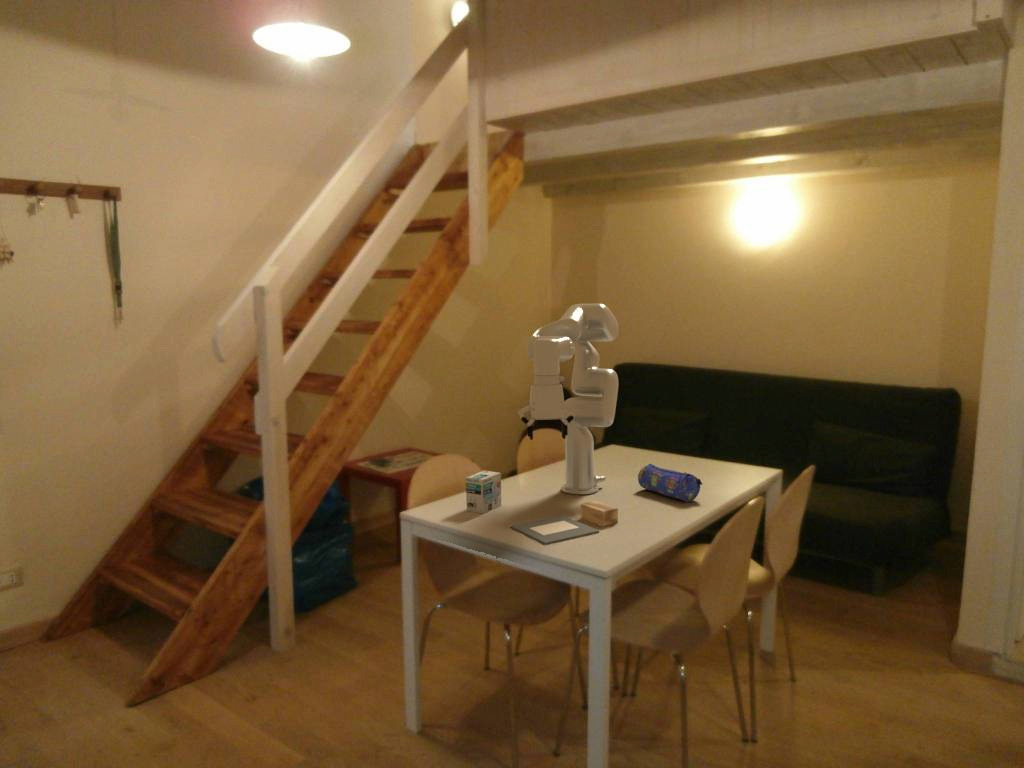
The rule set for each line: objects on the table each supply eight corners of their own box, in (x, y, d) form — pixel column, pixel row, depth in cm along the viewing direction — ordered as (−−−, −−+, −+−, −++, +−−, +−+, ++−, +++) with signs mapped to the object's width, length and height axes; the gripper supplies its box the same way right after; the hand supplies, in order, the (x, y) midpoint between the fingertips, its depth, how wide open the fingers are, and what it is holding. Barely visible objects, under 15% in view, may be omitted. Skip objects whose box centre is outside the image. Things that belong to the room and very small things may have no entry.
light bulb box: (483, 514, 226) (483, 479, 225) (465, 511, 230) (464, 477, 228) (502, 505, 235) (501, 472, 234) (484, 502, 239) (483, 469, 238)
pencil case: (703, 501, 236) (703, 472, 235) (683, 506, 231) (684, 476, 230) (654, 486, 254) (654, 459, 253) (635, 490, 250) (635, 463, 249)
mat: (562, 516, 222) (562, 514, 222) (599, 532, 207) (599, 530, 207) (510, 527, 213) (510, 525, 213) (545, 544, 198) (545, 542, 198)
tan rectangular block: (595, 515, 224) (595, 500, 223) (617, 523, 216) (617, 508, 215) (581, 518, 221) (580, 503, 220) (603, 526, 213) (603, 511, 212)
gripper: (574, 378, 221) (574, 435, 223) (516, 380, 220) (517, 436, 222) (578, 381, 214) (578, 440, 216) (518, 383, 213) (519, 441, 215)
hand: (547, 438), depth 219 cm, fingers open, 9 cm apart
